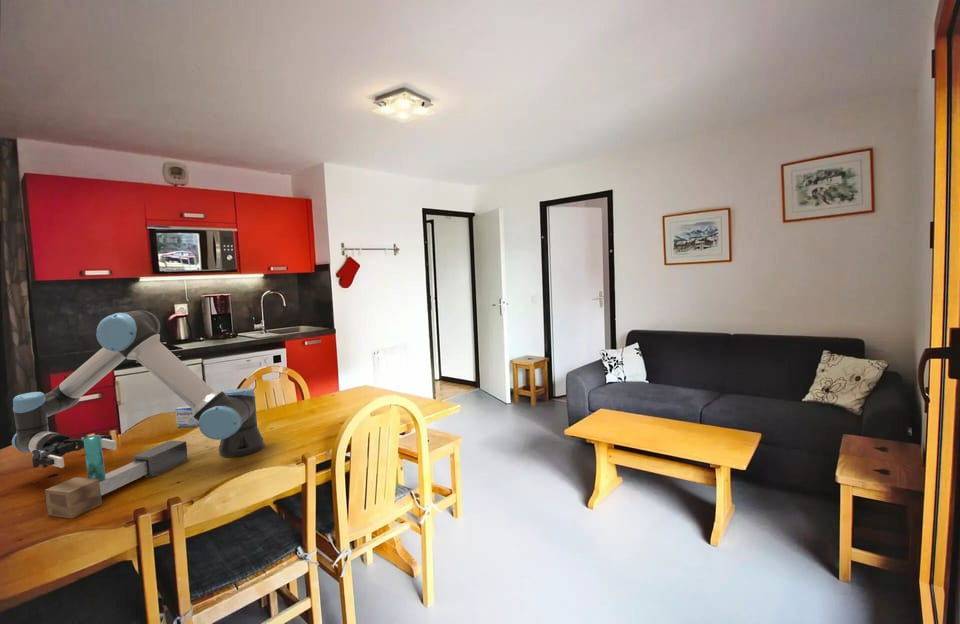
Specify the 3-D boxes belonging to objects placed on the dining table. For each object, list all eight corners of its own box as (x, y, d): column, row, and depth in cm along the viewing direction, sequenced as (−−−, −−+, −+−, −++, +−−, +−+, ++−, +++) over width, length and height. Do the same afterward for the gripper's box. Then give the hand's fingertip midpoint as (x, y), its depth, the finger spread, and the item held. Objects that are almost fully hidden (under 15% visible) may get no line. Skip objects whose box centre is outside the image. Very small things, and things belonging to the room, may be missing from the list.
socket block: (78, 501, 139) (75, 477, 139) (101, 504, 137) (98, 479, 137) (48, 515, 132) (44, 489, 131) (72, 518, 130) (69, 492, 129)
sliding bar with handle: (142, 470, 157) (137, 419, 155) (153, 471, 156) (147, 419, 154) (67, 505, 134) (59, 445, 133) (79, 506, 133) (71, 446, 132)
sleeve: (172, 459, 169) (170, 440, 168) (187, 460, 167) (186, 441, 167) (135, 476, 156) (133, 456, 155) (152, 477, 154) (149, 457, 153)
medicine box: (176, 428, 203) (174, 408, 202) (181, 424, 208) (179, 405, 207) (196, 426, 205) (194, 407, 204) (200, 423, 209) (198, 404, 208)
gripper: (97, 442, 160) (135, 450, 152) (-1, 472, 137) (39, 484, 129) (94, 421, 159) (133, 427, 151) (-4, 448, 137) (35, 457, 128)
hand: (89, 453), depth 140 cm, fingers open, 13 cm apart
